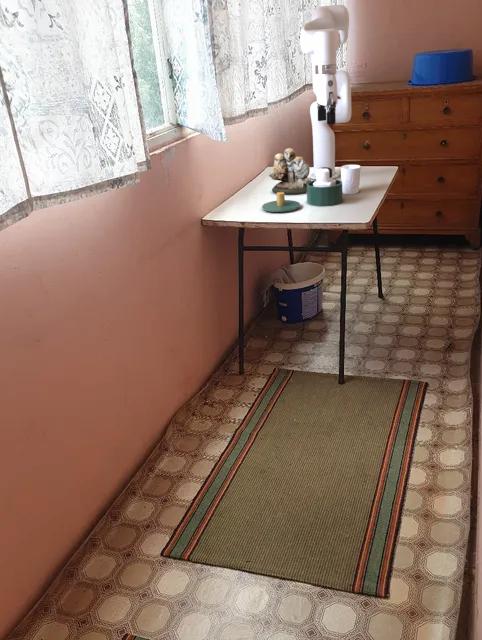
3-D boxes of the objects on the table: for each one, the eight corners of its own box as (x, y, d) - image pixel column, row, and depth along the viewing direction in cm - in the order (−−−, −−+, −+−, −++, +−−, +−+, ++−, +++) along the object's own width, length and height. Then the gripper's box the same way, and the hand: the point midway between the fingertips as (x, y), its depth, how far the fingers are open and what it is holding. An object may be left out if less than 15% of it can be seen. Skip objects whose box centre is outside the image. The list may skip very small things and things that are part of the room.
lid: (258, 206, 236) (256, 191, 233) (293, 201, 239) (293, 186, 236) (267, 215, 224) (266, 200, 221) (305, 210, 227) (304, 194, 224)
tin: (302, 199, 240) (301, 181, 237) (335, 195, 243) (334, 177, 239) (313, 207, 229) (313, 189, 225) (347, 203, 232) (347, 184, 228)
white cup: (359, 194, 241) (359, 168, 236) (339, 194, 243) (339, 169, 238) (361, 189, 248) (361, 164, 243) (341, 190, 250) (341, 164, 244)
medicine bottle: (318, 197, 240) (318, 165, 234) (336, 197, 237) (335, 166, 231) (313, 202, 234) (312, 170, 228) (330, 202, 232) (330, 170, 226)
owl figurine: (266, 195, 250) (263, 151, 241) (273, 188, 260) (270, 146, 251) (309, 194, 246) (308, 150, 237) (314, 187, 256) (313, 145, 247)
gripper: (344, 70, 208) (344, 124, 217) (327, 68, 223) (328, 118, 231) (324, 72, 207) (324, 126, 216) (307, 70, 221) (309, 120, 230)
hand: (326, 122), depth 223 cm, fingers open, 9 cm apart
